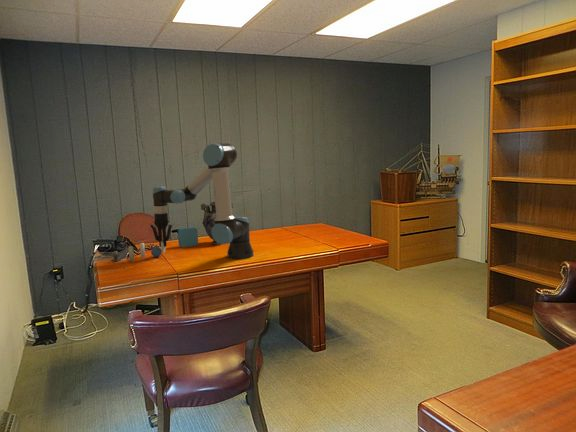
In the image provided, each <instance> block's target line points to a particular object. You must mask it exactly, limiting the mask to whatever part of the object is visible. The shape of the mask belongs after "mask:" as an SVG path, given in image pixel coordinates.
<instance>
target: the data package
mask: <svg viewBox="0 0 576 432" xmlns="http://www.w3.org/2000/svg"><path fill="white" fill-rule="evenodd" d="M198 233H199V231H198V228H197V227H194V226H191V227H183V228H178V229H177V239H178V246H179V247H181V248H189V247H197V246H198V245H199V235H198Z"/></svg>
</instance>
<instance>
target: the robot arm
mask: <svg viewBox="0 0 576 432" xmlns="http://www.w3.org/2000/svg"><path fill="white" fill-rule="evenodd" d="M236 149H237V148H235V147H234V146H233V144H230V143H221V142H220V143H219V142H213V143H209V144H208V145H206V147H205V148H204V149H203V152H202V159H203V162H204V163H205V165H207V167H206V168H204V169H203V170H202V171H201V172H200V173H198V175H197V176H196V177H195V178H194V179H193V180H192V181H191V182H190V183H189V184H188V185H187V186H185V187H184V188H180V189H169V190H168V189H167V187H166V186H163V185H162V186H160V185H159V186H154V187H153V188H152V199H153V213H154V215H153V216H154V222H153V223H152V224H150V228H151V229H152V232H153V235H154V239H155V241H157V242H158V243H159V246H158V247H159V248H160V249H161V254H162V253H163V254H164V253H165V252H166V247H167V241H169V240H170V238H171V232H172V227H173V226H174V225H173V223H170V222H169V216H168V215H169V213H168V204H176V205H177V204H183V203H184V202H190V201H195V200H196V198H197V197H198V194H199V193H200V192H201V191H202V190H203V189H204V188H205V187H206V186H208V185H209V184H210V183H211V182H212V188H213V196H214V202H215V206H216V215H217V216H216V218H215V219H214V223H215V225H214V226H213V228H212V231H211V232H212V237H213V239H214V240H215V241H216V242H217V243H219V245H226V244H227V245H228V244H229V245H228V249H227V252H226V254H227V255H226V257H227V258H229V259H233V260H239V259H240V260H242V259H248V258H249V259H250V258H251V257H254V250H253V248H252V245H251V236H250V222H249V218H248V217H246V216H234V215H233V208H232V206H233V205H232V206H231V203H232V199H231V191H230V181H229V171H230V168H231V166H232V165H234V163H235V161H236V160H237V158H238V151H237V150H236ZM167 227H168V228H167ZM213 239H212V240H213ZM214 240H213V241H214Z"/></svg>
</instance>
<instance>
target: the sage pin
mask: <svg viewBox="0 0 576 432" xmlns="http://www.w3.org/2000/svg"><path fill="white" fill-rule="evenodd" d="M128 248H129V256H128V257H129V258H128V259H129V262H132V263H133V262H135V253H134V246H132V245H131V246H130V245H129V246H128Z"/></svg>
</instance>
